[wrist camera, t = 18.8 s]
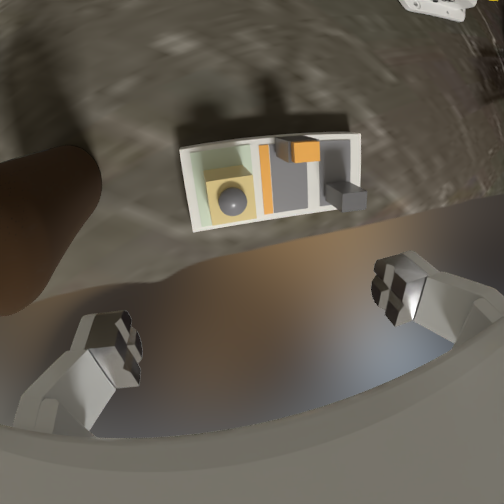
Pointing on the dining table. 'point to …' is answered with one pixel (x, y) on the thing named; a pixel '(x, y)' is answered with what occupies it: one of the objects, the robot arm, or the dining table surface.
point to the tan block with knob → (230, 194)
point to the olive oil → (41, 217)
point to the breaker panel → (272, 174)
